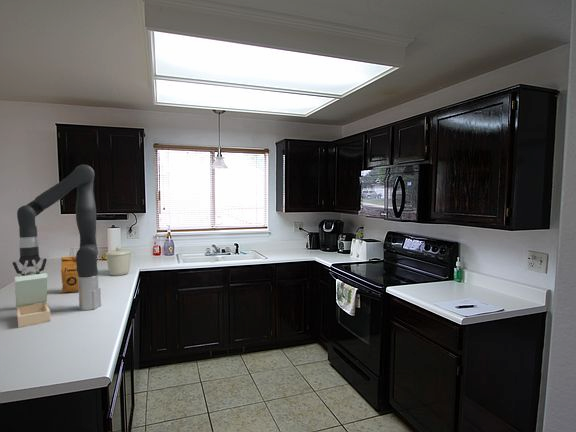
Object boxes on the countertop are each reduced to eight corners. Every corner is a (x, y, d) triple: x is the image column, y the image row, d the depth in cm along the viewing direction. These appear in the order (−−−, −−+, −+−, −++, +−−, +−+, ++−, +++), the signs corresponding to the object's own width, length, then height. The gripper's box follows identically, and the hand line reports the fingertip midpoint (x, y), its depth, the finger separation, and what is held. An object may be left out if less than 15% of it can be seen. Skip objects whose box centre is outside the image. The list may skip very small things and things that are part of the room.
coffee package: (83, 292, 213) (81, 257, 211) (59, 294, 209) (58, 258, 207) (87, 288, 222) (85, 254, 221) (64, 290, 218) (63, 255, 217)
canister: (134, 274, 259) (133, 247, 258) (107, 278, 249) (106, 249, 247) (130, 270, 274) (129, 244, 273) (104, 273, 264) (103, 246, 262)
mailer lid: (16, 310, 169) (15, 297, 174) (47, 305, 176) (45, 292, 182) (15, 281, 160) (14, 268, 165) (47, 277, 168) (45, 265, 173)
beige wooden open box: (17, 317, 170) (16, 307, 170) (46, 311, 178) (46, 302, 178) (18, 327, 156) (17, 316, 156) (50, 321, 164) (49, 311, 164)
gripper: (46, 244, 177) (47, 277, 178) (10, 246, 168) (12, 281, 169) (47, 245, 171) (49, 279, 172) (10, 248, 162) (12, 284, 163)
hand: (30, 280), depth 170 cm, fingers closed on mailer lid, 4 cm apart
